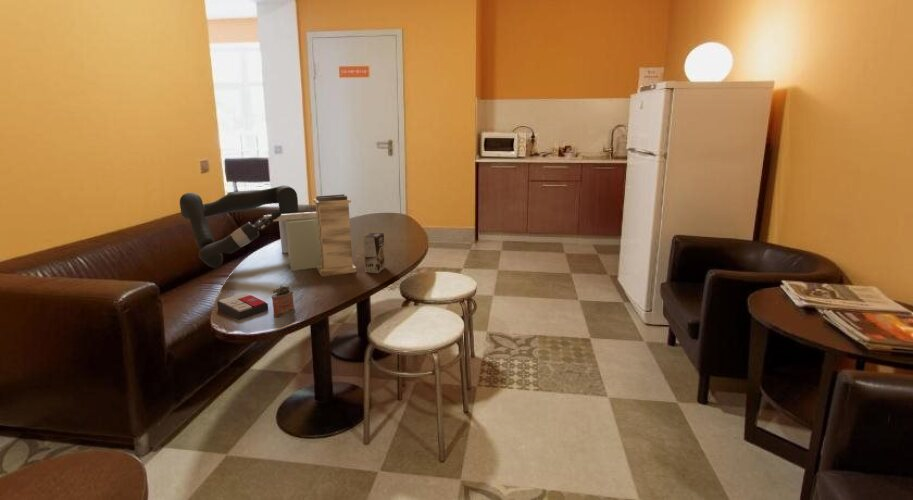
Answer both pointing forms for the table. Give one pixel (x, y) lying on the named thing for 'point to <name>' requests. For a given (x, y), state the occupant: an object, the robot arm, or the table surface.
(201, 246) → the robot arm
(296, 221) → the upright cream box
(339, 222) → the tall stand
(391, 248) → the table surface
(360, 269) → the table surface
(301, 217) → the hook bar
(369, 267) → the coffee box
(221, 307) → the red and beige box
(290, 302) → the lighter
